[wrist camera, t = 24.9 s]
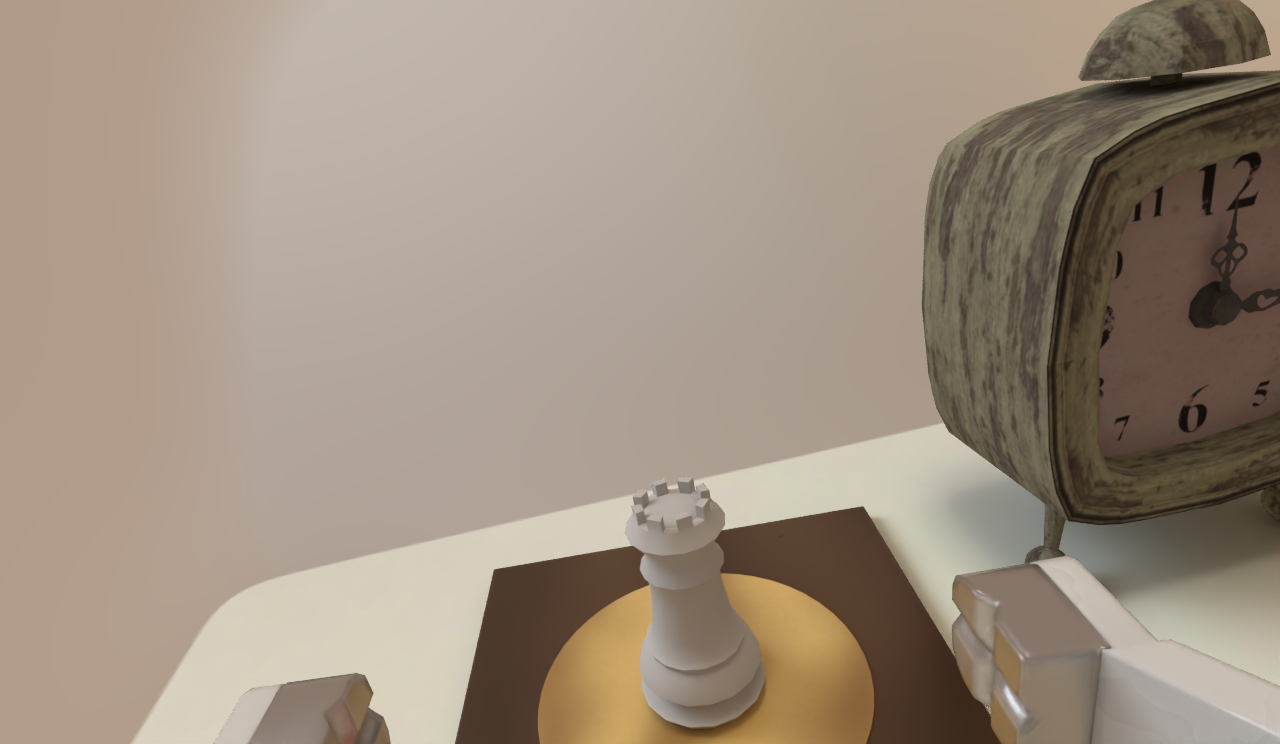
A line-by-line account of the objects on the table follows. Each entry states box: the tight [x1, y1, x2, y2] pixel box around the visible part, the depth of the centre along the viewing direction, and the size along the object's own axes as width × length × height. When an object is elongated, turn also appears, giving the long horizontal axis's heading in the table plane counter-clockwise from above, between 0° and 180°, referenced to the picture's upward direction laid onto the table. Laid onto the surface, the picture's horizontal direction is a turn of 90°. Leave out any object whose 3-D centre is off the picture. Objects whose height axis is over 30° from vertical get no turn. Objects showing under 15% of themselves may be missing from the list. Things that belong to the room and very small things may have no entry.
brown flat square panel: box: [455, 506, 1001, 744], centre depth 26 cm, size 18×18×1 cm
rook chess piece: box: [625, 477, 765, 729], centre depth 24 cm, size 4×4×8 cm
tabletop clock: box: [922, 0, 1280, 564], centre depth 27 cm, size 14×9×25 cm, turn 100°
